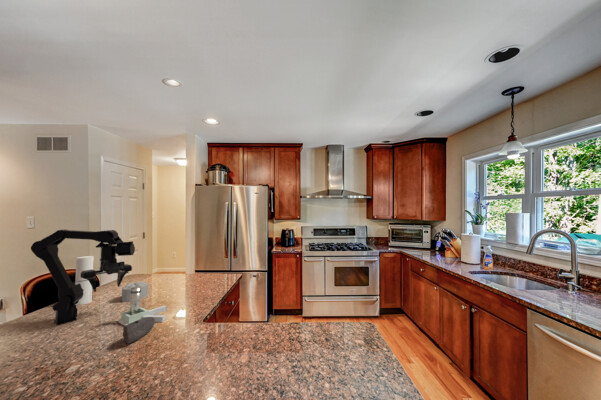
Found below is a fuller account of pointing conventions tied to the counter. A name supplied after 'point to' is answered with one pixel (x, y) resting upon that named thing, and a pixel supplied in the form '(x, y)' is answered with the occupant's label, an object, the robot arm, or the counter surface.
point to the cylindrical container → (83, 265)
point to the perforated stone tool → (137, 329)
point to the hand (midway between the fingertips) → (107, 289)
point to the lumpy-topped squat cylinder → (127, 289)
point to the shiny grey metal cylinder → (135, 300)
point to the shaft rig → (143, 315)
